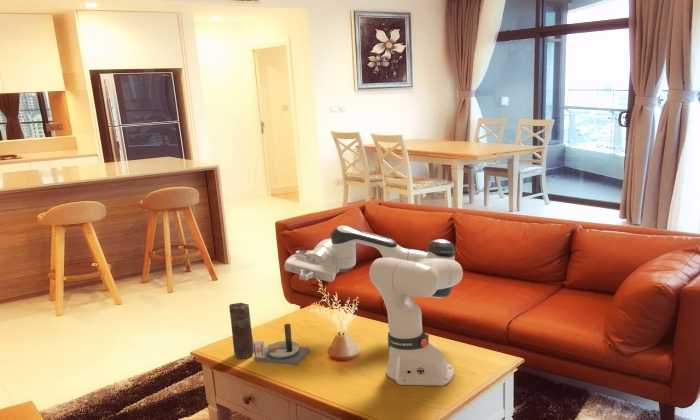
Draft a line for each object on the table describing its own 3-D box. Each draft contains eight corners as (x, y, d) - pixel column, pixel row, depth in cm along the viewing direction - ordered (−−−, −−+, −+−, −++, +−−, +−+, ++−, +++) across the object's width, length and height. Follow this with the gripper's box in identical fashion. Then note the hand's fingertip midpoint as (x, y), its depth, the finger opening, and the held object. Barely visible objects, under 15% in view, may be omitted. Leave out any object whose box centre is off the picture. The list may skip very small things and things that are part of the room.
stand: (310, 351, 214) (308, 332, 212) (295, 366, 202) (293, 346, 201) (269, 347, 220) (268, 329, 218) (253, 362, 208) (251, 342, 206)
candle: (232, 353, 216) (227, 303, 213) (251, 349, 219) (246, 299, 216) (237, 361, 210) (231, 309, 206) (256, 356, 213) (251, 305, 209)
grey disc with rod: (298, 358, 205) (296, 326, 203) (266, 360, 205) (263, 328, 203) (299, 344, 217) (297, 314, 215) (269, 347, 216) (266, 317, 214)
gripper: (340, 275, 224) (328, 292, 212) (292, 263, 230) (278, 279, 217) (341, 261, 222) (329, 277, 210) (293, 249, 227) (278, 264, 215)
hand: (303, 278), depth 214 cm, fingers closed
